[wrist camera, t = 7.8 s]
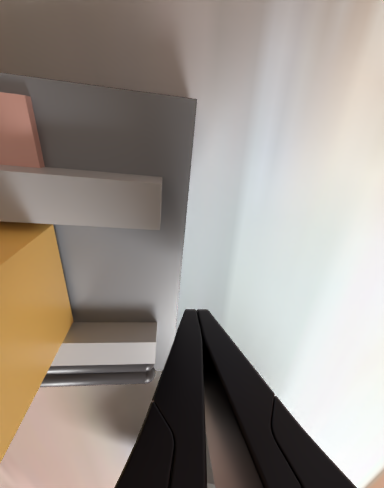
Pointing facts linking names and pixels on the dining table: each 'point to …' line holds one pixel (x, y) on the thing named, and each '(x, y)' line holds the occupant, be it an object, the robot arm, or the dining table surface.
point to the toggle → (28, 317)
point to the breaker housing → (103, 214)
